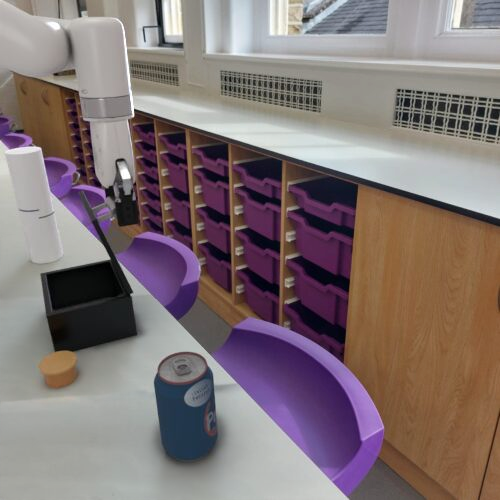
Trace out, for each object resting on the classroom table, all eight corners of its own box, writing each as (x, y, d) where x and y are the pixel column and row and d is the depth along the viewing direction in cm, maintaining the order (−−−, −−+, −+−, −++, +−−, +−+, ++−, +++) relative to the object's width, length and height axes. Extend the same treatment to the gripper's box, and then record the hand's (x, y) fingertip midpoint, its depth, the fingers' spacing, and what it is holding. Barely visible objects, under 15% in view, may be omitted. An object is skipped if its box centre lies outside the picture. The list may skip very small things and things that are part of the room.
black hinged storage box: (57, 364, 76) (46, 316, 73) (50, 316, 90) (40, 273, 86) (138, 342, 81) (131, 296, 77) (120, 299, 94) (113, 258, 91)
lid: (91, 221, 70) (124, 206, 72) (77, 192, 83) (106, 180, 85) (129, 295, 77) (158, 280, 78) (111, 257, 90) (137, 245, 92)
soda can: (225, 456, 59) (219, 377, 54) (168, 473, 57) (157, 392, 52) (209, 417, 65) (203, 343, 60) (158, 431, 63) (147, 355, 58)
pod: (40, 399, 69) (33, 374, 67) (50, 376, 74) (44, 351, 72) (77, 397, 69) (71, 371, 68) (85, 373, 74) (80, 349, 72)
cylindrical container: (32, 253, 115) (7, 148, 105) (63, 248, 117) (42, 145, 107) (29, 265, 109) (2, 155, 99) (63, 260, 111) (40, 152, 101)
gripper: (74, 103, 79) (91, 203, 86) (90, 118, 64) (108, 237, 72) (121, 99, 82) (133, 197, 89) (146, 113, 67) (158, 228, 74)
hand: (122, 215), depth 80 cm, fingers open, 9 cm apart
